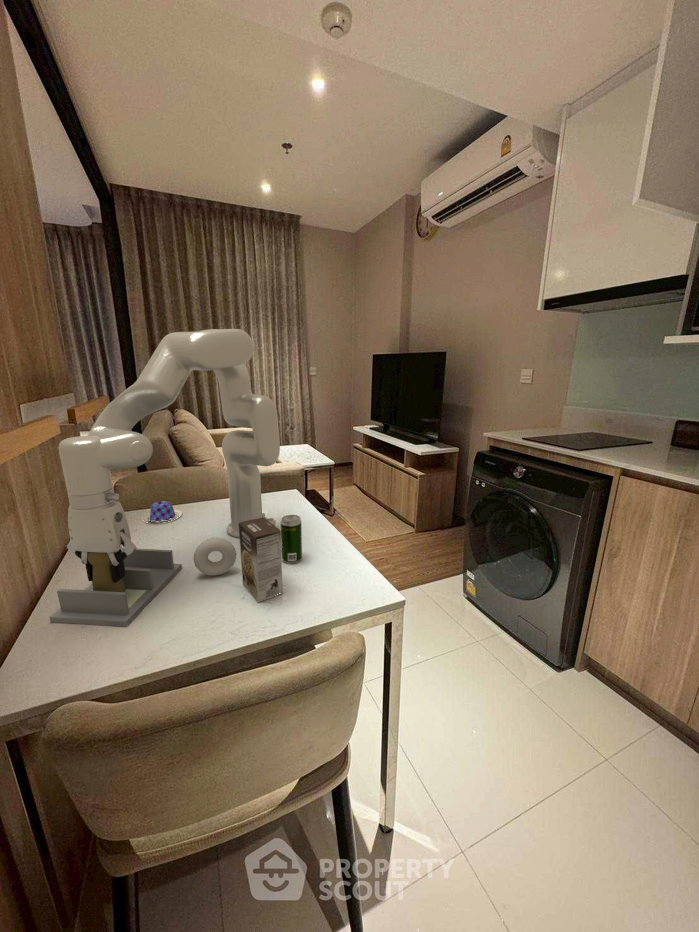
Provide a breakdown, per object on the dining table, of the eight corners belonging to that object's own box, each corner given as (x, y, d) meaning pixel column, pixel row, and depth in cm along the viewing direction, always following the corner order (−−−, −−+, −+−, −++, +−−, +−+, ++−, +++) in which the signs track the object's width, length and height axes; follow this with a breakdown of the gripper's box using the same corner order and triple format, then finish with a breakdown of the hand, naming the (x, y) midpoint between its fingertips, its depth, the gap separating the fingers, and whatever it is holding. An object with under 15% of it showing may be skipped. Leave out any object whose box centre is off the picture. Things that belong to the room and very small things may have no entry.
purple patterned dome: (149, 512, 130) (147, 498, 129) (185, 510, 132) (184, 496, 131) (137, 526, 119) (135, 511, 117) (177, 524, 121) (175, 509, 120)
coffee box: (241, 584, 88) (237, 522, 84) (266, 575, 92) (263, 515, 88) (257, 604, 82) (253, 537, 77) (283, 593, 85) (281, 529, 81)
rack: (182, 568, 95) (179, 546, 93) (126, 626, 74) (122, 600, 72) (122, 565, 96) (118, 543, 94) (50, 622, 75) (44, 596, 73)
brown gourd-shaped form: (110, 604, 77) (102, 556, 74) (85, 599, 78) (76, 552, 75) (132, 587, 82) (125, 542, 79) (108, 583, 84) (101, 539, 81)
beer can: (304, 562, 99) (303, 521, 95) (283, 566, 97) (282, 523, 94) (299, 553, 103) (298, 513, 100) (280, 556, 102) (278, 515, 98)
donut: (195, 581, 89) (191, 544, 87) (195, 574, 92) (191, 537, 90) (238, 574, 92) (235, 538, 90) (237, 567, 96) (234, 532, 93)
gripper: (144, 493, 77) (155, 570, 82) (67, 490, 78) (82, 567, 83) (120, 506, 70) (134, 590, 75) (36, 503, 71) (55, 586, 76)
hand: (107, 577), depth 79 cm, fingers closed on brown gourd-shaped form, 4 cm apart
